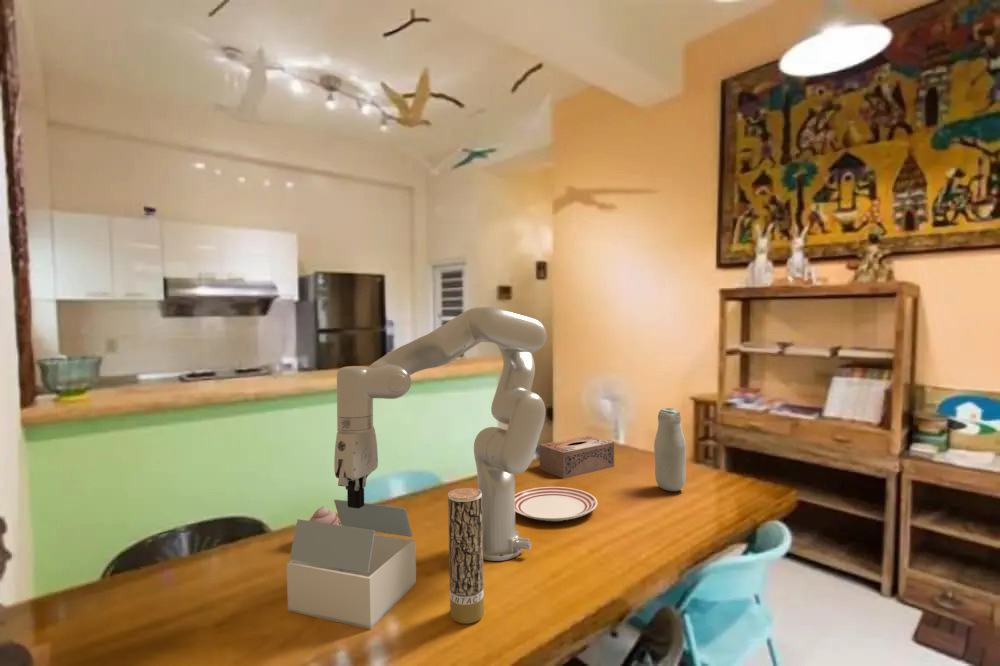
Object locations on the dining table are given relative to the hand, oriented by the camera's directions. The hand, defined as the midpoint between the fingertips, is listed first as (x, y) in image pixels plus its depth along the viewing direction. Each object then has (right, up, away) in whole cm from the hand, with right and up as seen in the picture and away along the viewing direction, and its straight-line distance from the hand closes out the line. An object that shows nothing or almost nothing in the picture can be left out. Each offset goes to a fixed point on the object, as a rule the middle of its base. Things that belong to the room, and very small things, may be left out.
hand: (355, 506), depth 112 cm
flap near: (-3, -5, -8) cm, 10 cm away
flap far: (+2, -5, +5) cm, 7 cm away
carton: (0, -19, -1) cm, 19 cm away
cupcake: (-16, -19, +26) cm, 36 cm away
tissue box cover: (+62, -16, +90) cm, 110 cm away
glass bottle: (+89, -16, +63) cm, 110 cm away
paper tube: (+25, -19, -9) cm, 33 cm away
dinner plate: (+48, -17, +47) cm, 69 cm away
